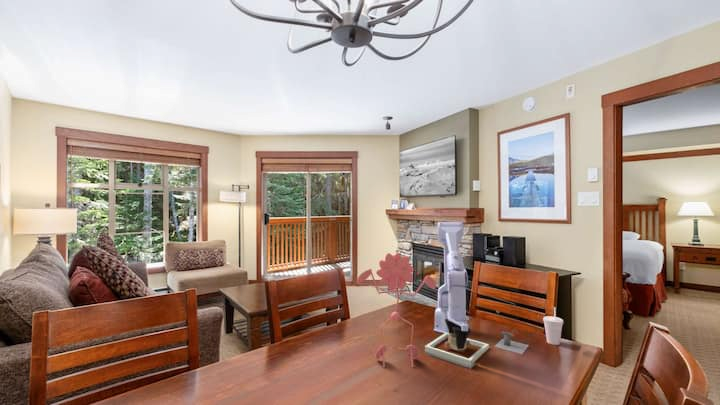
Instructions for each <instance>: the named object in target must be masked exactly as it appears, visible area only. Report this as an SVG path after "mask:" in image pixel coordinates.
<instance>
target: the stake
mask: <svg viewBox="0 0 720 405" xmlns="http://www.w3.org/2000/svg"><path fill="white" fill-rule="evenodd" d="M501 335H502V336H503V338H502V339H500V340H499V341H498V342H497V343H496V344H495V345H494V348H499V349H502V350H505V351H509V352H513V353H516V354H519V355H522V354H524V352H525V351H526V350H527V349H528V347H529V344H524V343H521V342H517V341H514V340H513V341H512V340H511V337H514V334H513V333H510V332H506V331H503V330H502V331H501Z"/></svg>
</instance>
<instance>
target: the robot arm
mask: <svg viewBox="0 0 720 405" xmlns="http://www.w3.org/2000/svg"><path fill="white" fill-rule="evenodd" d="M463 236H464V223H463V222H462V221H438V222H437V242H438V243H440V244H442V247H443V261H444V262H443V266H444V268H443V269H444V271H443V272H444V284H442V285H441V286H440V287H439V288H438V289H437V306H438V307H437V308H435V311H434V328H433V331H434V332H438V333H441V334H445V333H449V334H451V333H454V334H455V338H456V345H457V348H458V349H464V346H465V342H466V339H467V338H468V336H469V334H470V333H471V328H469V325H468V321H470V317H469V316H467V314H466V312H467V309H466V308H467V305H466V304H467V300H466V299H467V295H466V289H467V287H468V281H469V279H468V272H467V270H466V267H465V264H464V258H463V255H462V253H461V252H460V251H459V248H460V247H459V243H461V241H462V240H463Z"/></svg>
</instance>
